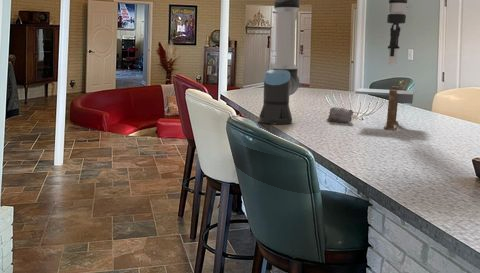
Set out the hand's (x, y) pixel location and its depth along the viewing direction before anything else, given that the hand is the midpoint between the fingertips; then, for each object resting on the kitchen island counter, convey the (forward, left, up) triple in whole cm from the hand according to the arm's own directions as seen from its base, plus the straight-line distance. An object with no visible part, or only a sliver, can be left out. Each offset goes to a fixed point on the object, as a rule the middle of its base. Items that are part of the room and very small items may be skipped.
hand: (392, 64), depth 204 cm
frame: (+2, +2, -28) cm, 28 cm away
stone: (-21, +2, -28) cm, 35 cm away
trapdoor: (-2, +2, -16) cm, 16 cm away
